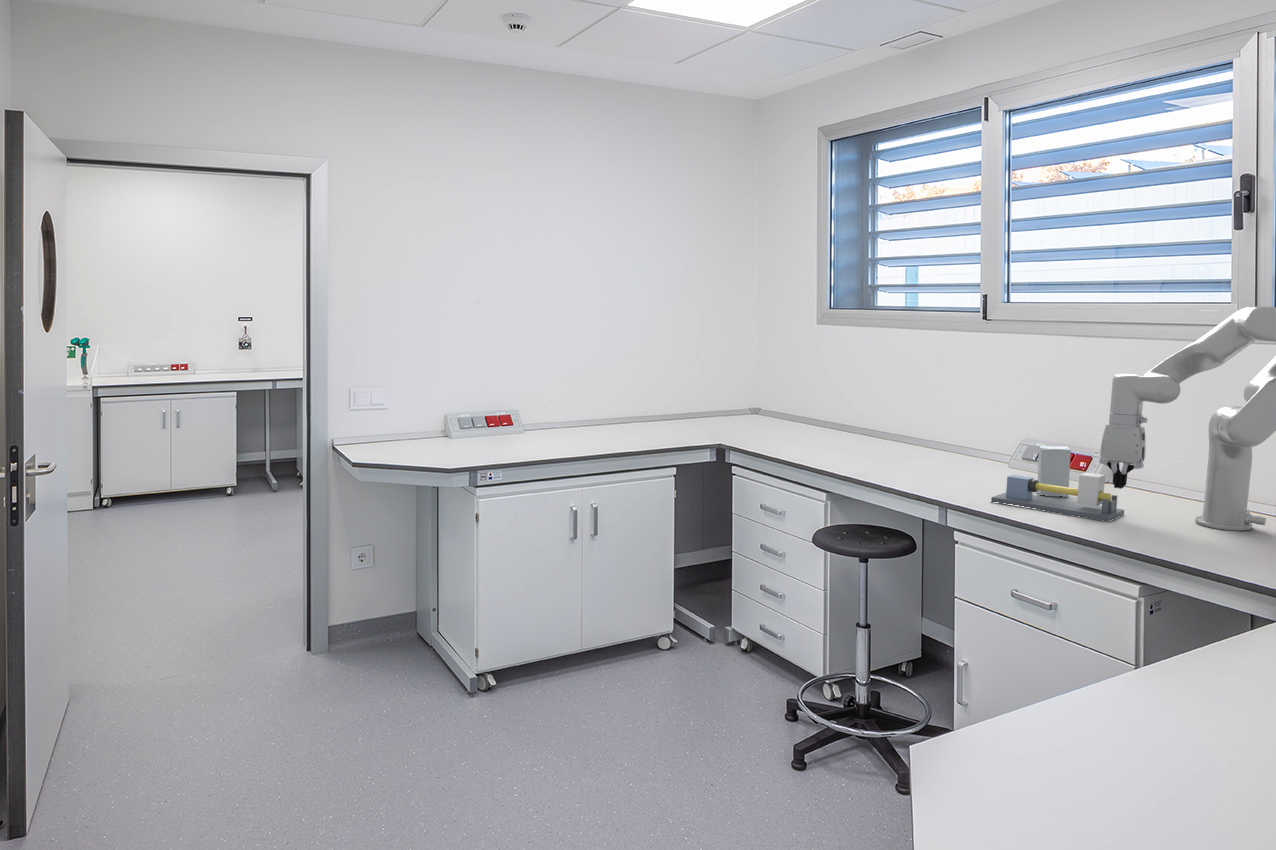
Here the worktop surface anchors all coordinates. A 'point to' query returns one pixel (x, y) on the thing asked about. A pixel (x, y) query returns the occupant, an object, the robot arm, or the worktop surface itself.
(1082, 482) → the sleeve
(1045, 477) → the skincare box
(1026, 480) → the yellow rod jig
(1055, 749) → the worktop surface
